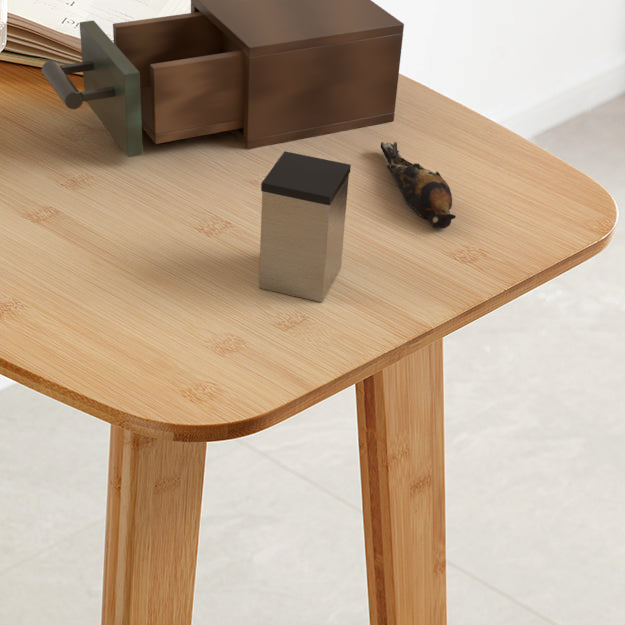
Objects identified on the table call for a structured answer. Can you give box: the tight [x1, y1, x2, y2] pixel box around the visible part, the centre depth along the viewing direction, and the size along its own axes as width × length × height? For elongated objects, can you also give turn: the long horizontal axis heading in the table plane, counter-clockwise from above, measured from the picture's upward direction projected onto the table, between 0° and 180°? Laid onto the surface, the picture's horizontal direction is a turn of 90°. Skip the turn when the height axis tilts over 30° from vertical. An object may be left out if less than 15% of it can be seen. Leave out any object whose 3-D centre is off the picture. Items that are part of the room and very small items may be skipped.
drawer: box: [41, 12, 246, 158], centre depth 89 cm, size 16×10×7 cm, turn 117°
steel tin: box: [258, 150, 352, 303], centre depth 74 cm, size 4×4×8 cm
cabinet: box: [190, 0, 405, 150], centre depth 94 cm, size 14×12×9 cm
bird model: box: [379, 141, 456, 229], centre depth 85 cm, size 3×14×3 cm, turn 14°
